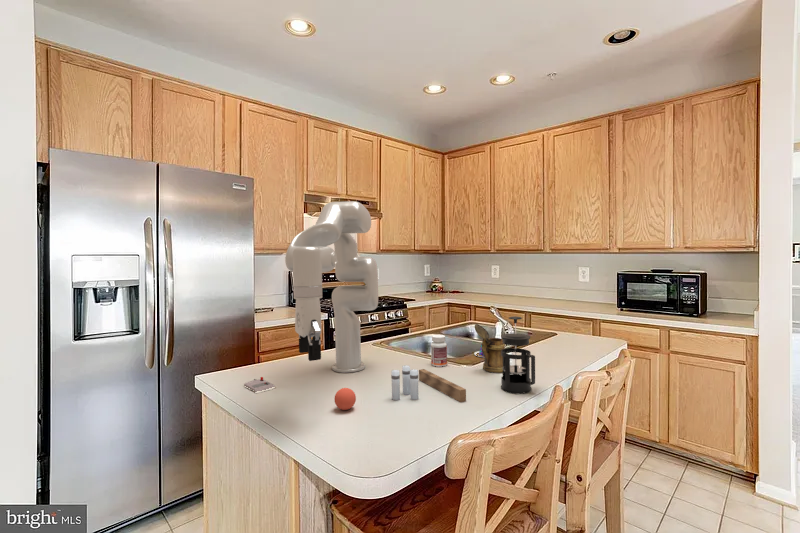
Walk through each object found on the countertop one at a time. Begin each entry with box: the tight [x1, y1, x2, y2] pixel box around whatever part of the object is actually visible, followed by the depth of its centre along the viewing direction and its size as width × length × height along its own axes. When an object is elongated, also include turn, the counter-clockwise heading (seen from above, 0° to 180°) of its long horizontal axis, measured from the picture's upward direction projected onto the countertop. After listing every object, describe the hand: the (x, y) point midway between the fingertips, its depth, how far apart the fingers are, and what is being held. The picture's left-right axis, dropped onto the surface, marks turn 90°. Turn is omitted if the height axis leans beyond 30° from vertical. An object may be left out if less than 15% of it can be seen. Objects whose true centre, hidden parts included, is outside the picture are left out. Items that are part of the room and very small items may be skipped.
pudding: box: [473, 343, 484, 358], centre depth 171 cm, size 12×12×5 cm
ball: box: [333, 387, 357, 411], centre depth 115 cm, size 6×6×6 cm
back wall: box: [418, 368, 467, 403], centre depth 129 cm, size 24×2×4 cm, turn 27°
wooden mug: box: [474, 323, 506, 374], centre depth 149 cm, size 9×14×18 cm, turn 121°
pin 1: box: [401, 364, 411, 396], centre depth 126 cm, size 2×2×8 cm
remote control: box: [243, 376, 276, 393], centre depth 136 cm, size 7×16×3 cm, turn 43°
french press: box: [500, 315, 536, 395], centre depth 128 cm, size 12×9×23 cm
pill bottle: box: [430, 334, 448, 368], centre depth 157 cm, size 6×6×11 cm
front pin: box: [390, 369, 401, 401], centre depth 122 cm, size 2×2×8 cm
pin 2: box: [409, 368, 419, 401], centre depth 122 cm, size 2×2×8 cm
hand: (309, 355), depth 110 cm, fingers open, 9 cm apart
